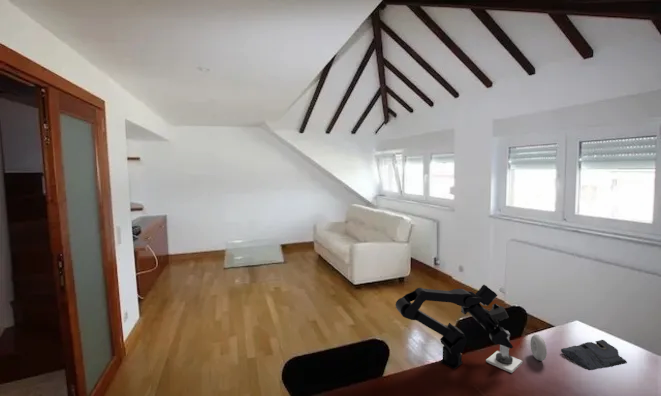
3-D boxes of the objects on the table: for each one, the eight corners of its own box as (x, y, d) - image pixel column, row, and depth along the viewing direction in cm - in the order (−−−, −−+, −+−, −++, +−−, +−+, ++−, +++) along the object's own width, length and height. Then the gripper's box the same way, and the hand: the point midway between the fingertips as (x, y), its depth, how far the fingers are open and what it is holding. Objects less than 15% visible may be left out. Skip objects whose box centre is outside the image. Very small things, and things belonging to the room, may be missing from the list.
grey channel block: (514, 365, 131) (515, 336, 130) (498, 363, 132) (499, 335, 131) (509, 356, 137) (510, 329, 136) (494, 355, 138) (494, 328, 137)
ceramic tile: (486, 361, 135) (486, 359, 135) (497, 352, 142) (497, 350, 141) (511, 373, 128) (511, 370, 127) (522, 363, 134) (522, 360, 134)
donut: (547, 366, 131) (548, 342, 130) (538, 365, 132) (539, 341, 131) (537, 352, 141) (538, 330, 140) (528, 351, 142) (529, 329, 141)
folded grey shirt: (553, 351, 142) (553, 341, 142) (593, 344, 147) (593, 333, 147) (589, 372, 127) (589, 361, 127) (631, 363, 133) (632, 352, 132)
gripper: (502, 310, 124) (533, 341, 123) (488, 292, 142) (515, 318, 141) (479, 329, 126) (510, 359, 125) (468, 309, 144) (495, 334, 143)
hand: (508, 341), depth 133 cm, fingers open, 9 cm apart
